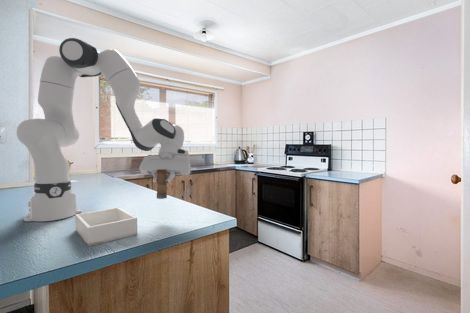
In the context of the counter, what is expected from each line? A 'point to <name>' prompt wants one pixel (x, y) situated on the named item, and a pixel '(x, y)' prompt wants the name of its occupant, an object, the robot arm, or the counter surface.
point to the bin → (105, 225)
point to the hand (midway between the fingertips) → (161, 181)
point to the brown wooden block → (161, 184)
